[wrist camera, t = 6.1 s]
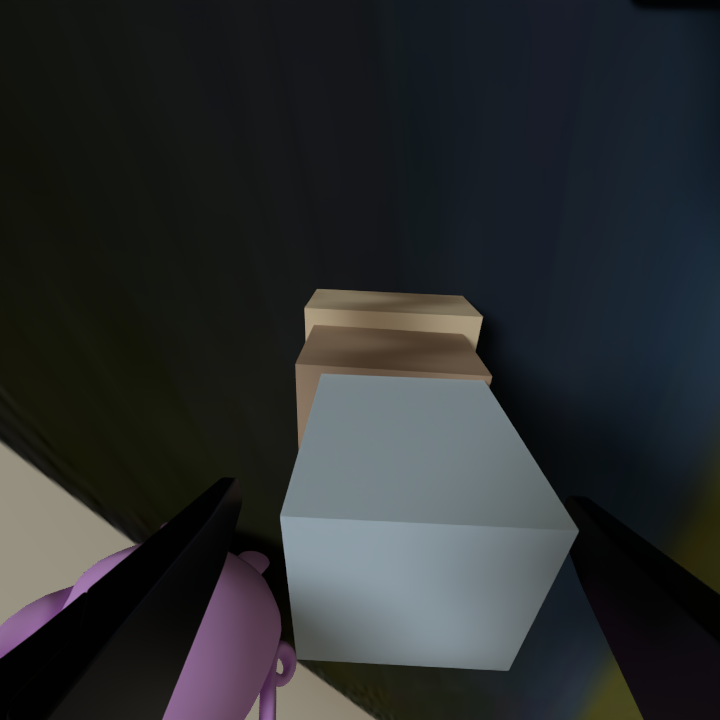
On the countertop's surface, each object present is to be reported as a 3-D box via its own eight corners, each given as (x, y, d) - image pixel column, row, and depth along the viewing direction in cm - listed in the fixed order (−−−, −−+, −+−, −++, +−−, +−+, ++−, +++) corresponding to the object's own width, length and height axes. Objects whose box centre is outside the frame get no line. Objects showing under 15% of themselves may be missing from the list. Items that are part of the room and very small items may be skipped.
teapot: (50, 567, 26) (-189, 837, 15) (76, 454, 21) (-271, 749, 10) (273, 639, 30) (214, 896, 19) (346, 560, 25) (324, 859, 13)
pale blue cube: (484, 380, 10) (579, 530, 5) (457, 496, 12) (508, 671, 8) (321, 373, 10) (280, 516, 5) (324, 489, 12) (296, 659, 8)
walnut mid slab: (462, 334, 13) (492, 376, 10) (438, 449, 16) (455, 511, 12) (313, 324, 13) (295, 364, 10) (315, 441, 16) (300, 501, 12)
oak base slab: (461, 294, 16) (482, 316, 13) (439, 412, 19) (452, 454, 16) (318, 287, 16) (304, 307, 13) (320, 406, 19) (309, 446, 16)
